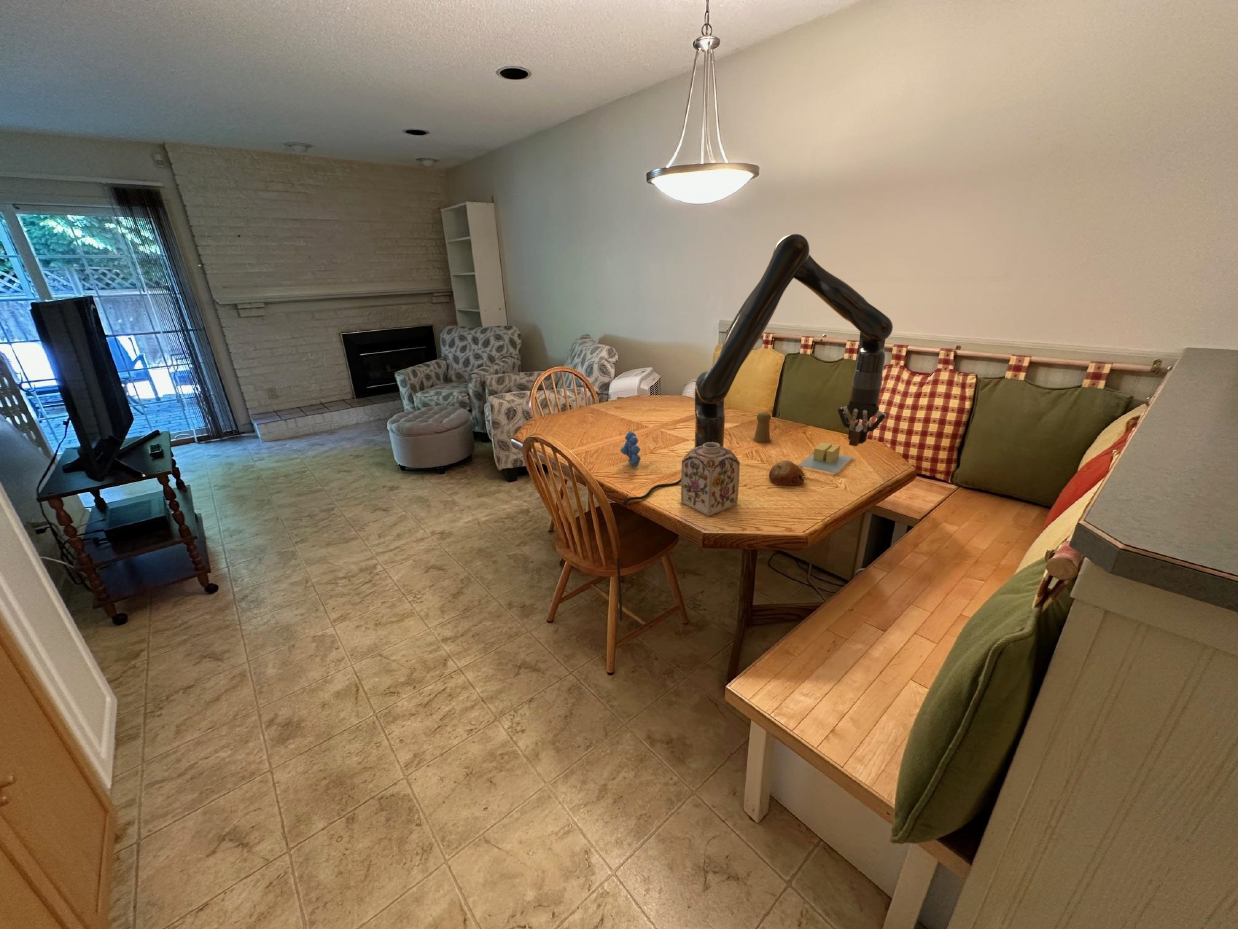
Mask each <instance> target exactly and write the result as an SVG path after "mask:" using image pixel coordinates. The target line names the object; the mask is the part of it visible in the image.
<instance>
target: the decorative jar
mask: <svg viewBox="0 0 1238 929" xmlns="http://www.w3.org/2000/svg"><path fill="white" fill-rule="evenodd" d="M694 447H695V446H694ZM694 447H693V448H691V449H690V450H689V451H688V452H687V453H686V454H685V455H684V457H683V458H682V459H681V475H680V479H681V482H680V503H681V504H684V505H685V506H688V507H690V508H692V509H693V510H696V511H697V512H699V513H702V514H704V515H706V516H708V517H710V516H712V515H715V514H717V513H720V512H722V511H723V512H724V511H725V510H727V509H730V508H732V507H735V506H737V505H738V502H739V487H740V470H741V468H740V466H741V462H740V460H739V459H738V457H737V456H736V454H735V453H733V451H732V450H731V449H729V448H726V447H720V444H718V443H715V442H708V443H704V444H703V446H699V447H695V448H694Z"/></svg>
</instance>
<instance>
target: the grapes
mask: <svg viewBox="0 0 1238 929" xmlns="http://www.w3.org/2000/svg"><path fill="white" fill-rule="evenodd" d="M624 439H625V440H626V441H625V443H624V444H623V446H621V448H620V452H621V453H622V454H623V455H624V456H626V457H628V460H627V462H628V463H629V465H630V466H631V467H633V468H634V469H635V468H638V466H639V464H640V461H641V459H642V457H641V456H640V455H639V453H640V451H641V448H640V447H639V446H638V445H637V444H638V443H639V439H638V437H637V434H636V433H635V432H634V431H632V430H629V432H628V433H627V434H625V437H624Z"/></svg>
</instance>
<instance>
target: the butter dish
mask: <svg viewBox="0 0 1238 929" xmlns="http://www.w3.org/2000/svg"><path fill="white" fill-rule="evenodd" d="M813 456H814V453H812V454H811V455H810V456H808V457H807V458H806V459H804V460H803V461H802V462H801V463H800V464H798V466H799V467H804V468H808V469H813V470H816V471H817V470H818V471H822V472H827V473H831V474H837V473H838V472H839V471H840V470H841V469H843V468H844V466H846V465H847V464H848V463H849V462H850V461H851V460H852V459H854V456H850V455H844V454H839V456H838V457H837V458H836V459H835V460H834V461H833V462H832V463H828V462H826V459H825V460H823V461H818V460H814V459H813Z"/></svg>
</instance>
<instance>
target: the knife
mask: <svg viewBox="0 0 1238 929" xmlns="http://www.w3.org/2000/svg"><path fill="white" fill-rule="evenodd" d="M871 424H872V418H870V423H869V426H872V425H871ZM862 430H863V424H857V425H856V427H855V428H854V429H853V430H852V431H851V435H850V440H849V442H848V445H849V446H851V447H858V446H859V445H860V438H861V432H862ZM869 433H870V431H869V432H868V434H869Z"/></svg>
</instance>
